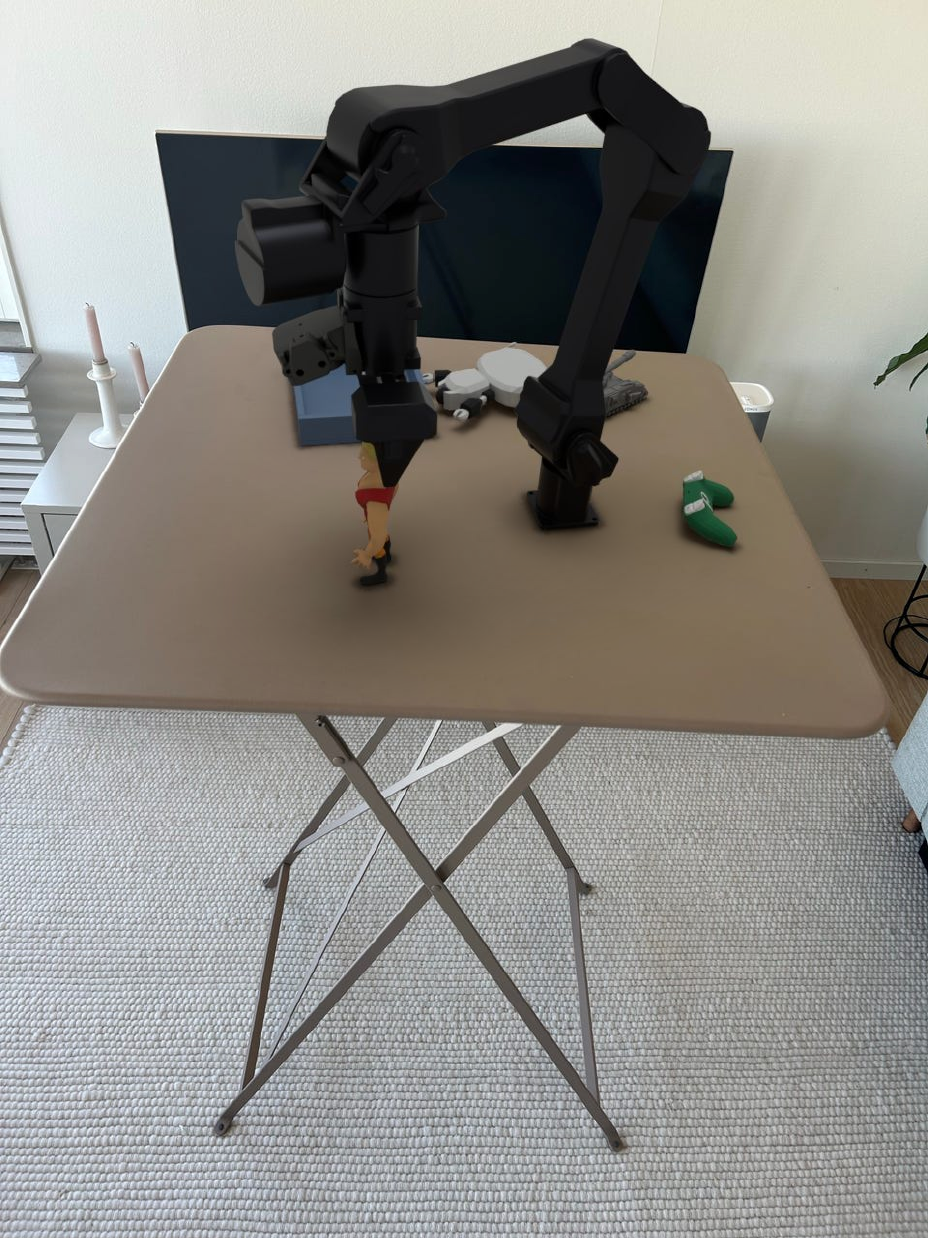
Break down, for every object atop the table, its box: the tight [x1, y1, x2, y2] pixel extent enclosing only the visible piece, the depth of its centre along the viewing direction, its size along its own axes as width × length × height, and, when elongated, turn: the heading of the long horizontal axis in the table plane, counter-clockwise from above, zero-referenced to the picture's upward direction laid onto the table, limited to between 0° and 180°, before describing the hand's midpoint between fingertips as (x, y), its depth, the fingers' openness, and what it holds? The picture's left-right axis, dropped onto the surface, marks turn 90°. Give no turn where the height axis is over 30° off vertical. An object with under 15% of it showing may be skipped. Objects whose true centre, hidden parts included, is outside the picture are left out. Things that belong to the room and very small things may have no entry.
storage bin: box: [292, 364, 434, 447], centre depth 109 cm, size 20×16×4 cm
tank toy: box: [603, 349, 649, 418], centre depth 112 cm, size 12×10×5 cm
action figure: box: [350, 442, 400, 586], centre depth 81 cm, size 10×4×15 cm, turn 175°
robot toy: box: [422, 341, 548, 422], centre depth 110 cm, size 12×4×15 cm
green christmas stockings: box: [682, 470, 738, 548], centre depth 94 cm, size 9×4×6 cm
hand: (382, 456), depth 78 cm, fingers open, 9 cm apart
